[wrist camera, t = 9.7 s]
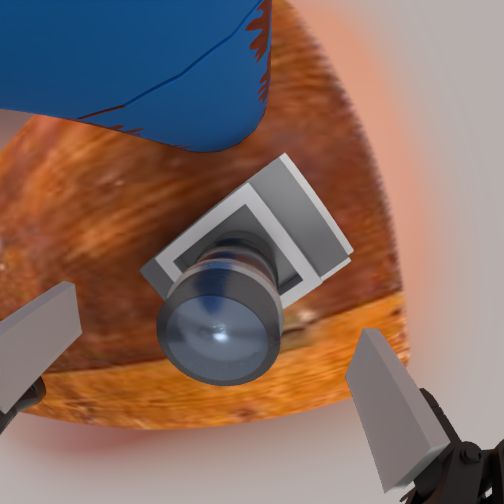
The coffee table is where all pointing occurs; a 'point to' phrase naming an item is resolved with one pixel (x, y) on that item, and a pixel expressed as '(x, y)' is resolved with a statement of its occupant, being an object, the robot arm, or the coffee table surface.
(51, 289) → the robot arm
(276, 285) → the lens
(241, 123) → the thermos
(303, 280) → the grey square frame
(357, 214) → the coffee table surface
